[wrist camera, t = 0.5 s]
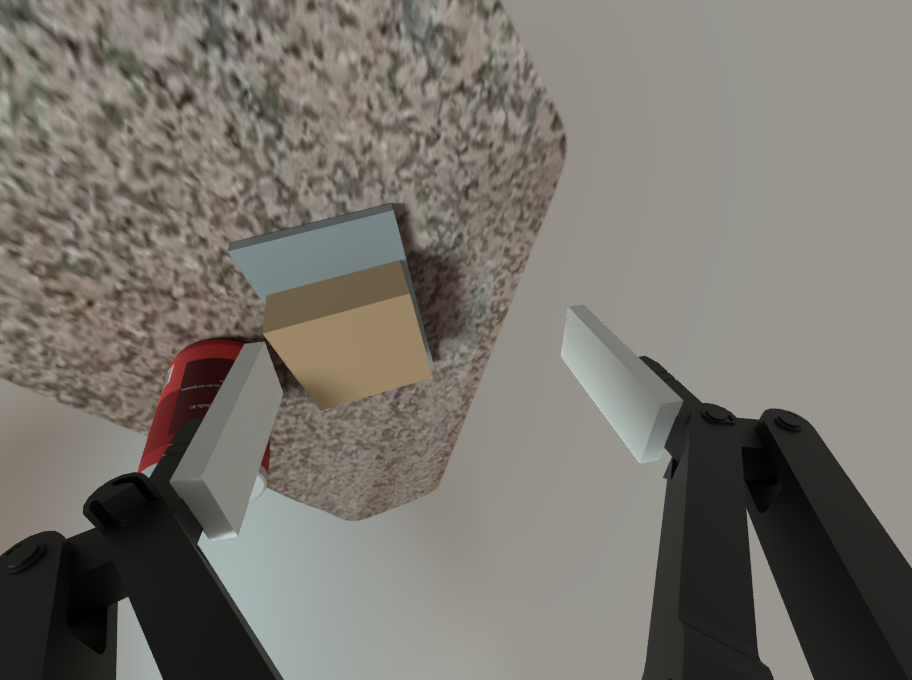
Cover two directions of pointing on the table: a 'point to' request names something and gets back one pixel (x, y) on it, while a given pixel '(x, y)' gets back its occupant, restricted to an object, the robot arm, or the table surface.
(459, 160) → the table surface
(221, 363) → the canned food
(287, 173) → the table surface
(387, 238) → the plinth
